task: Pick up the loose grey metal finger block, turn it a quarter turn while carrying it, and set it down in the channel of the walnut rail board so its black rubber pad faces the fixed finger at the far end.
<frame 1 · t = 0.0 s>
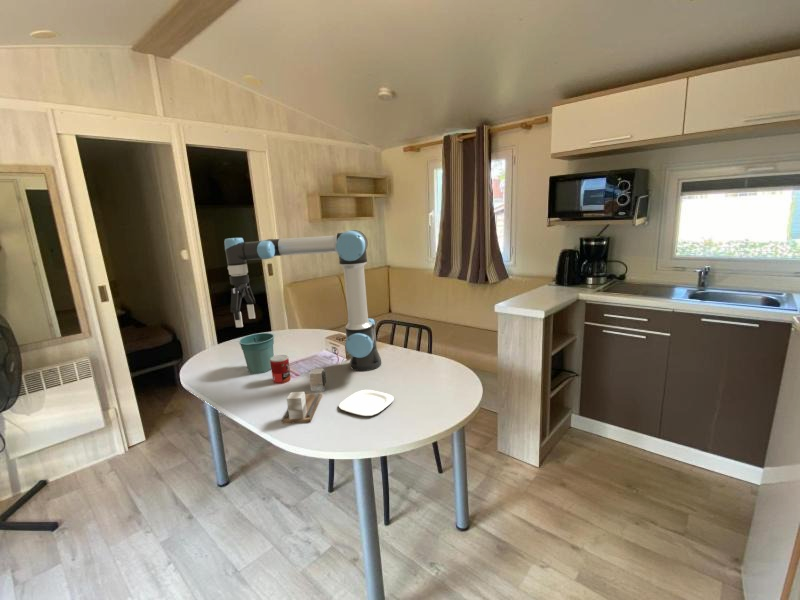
hand: (246, 322, 165), 28 cm above the table, fingers open, 13 cm apart
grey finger: (318, 388, 160), on the table
plate: (366, 405, 144), on the table
flower pot: (261, 369, 186), on the table
rail board: (303, 409, 143), on the table
canned food: (282, 380, 171), on the table
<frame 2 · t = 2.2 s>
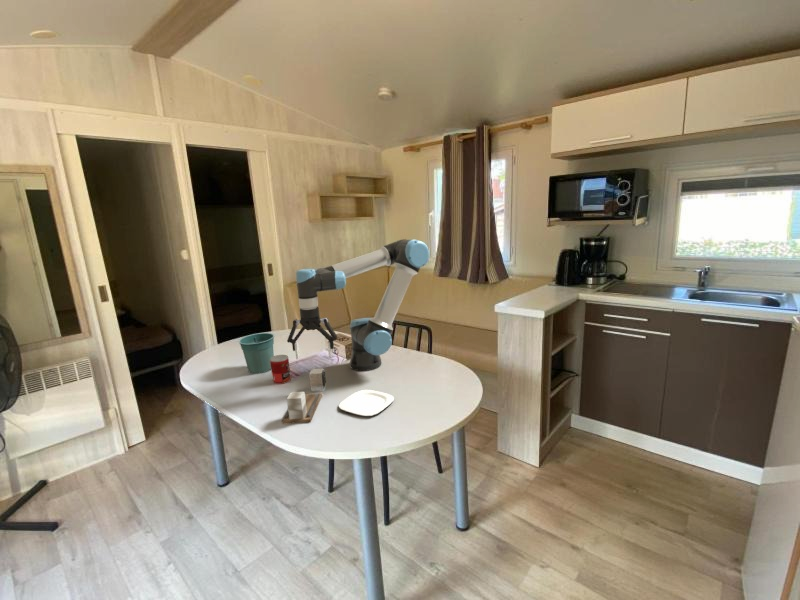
hand: (314, 357, 157), 14 cm above the table, fingers open, 13 cm apart
nothing on the table moved.
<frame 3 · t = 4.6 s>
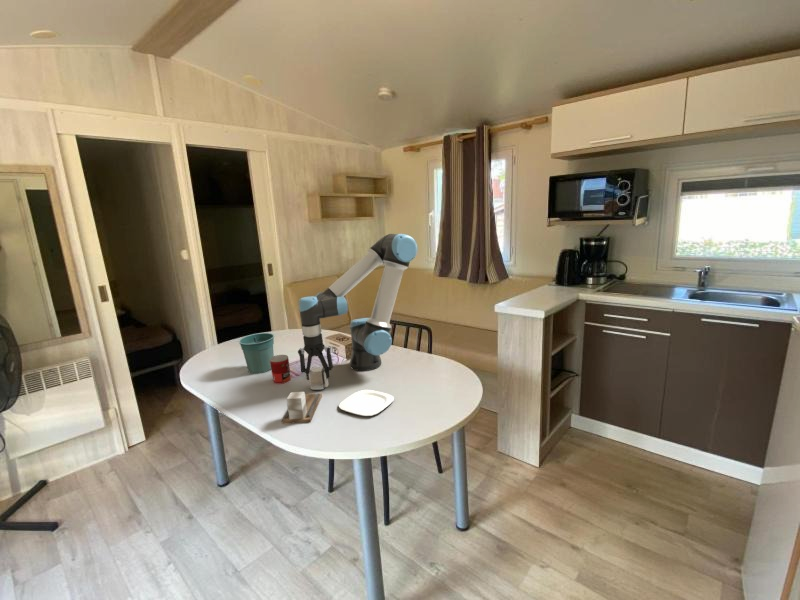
hand: (319, 386, 160), 1 cm above the table, fingers closed on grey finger, 6 cm apart
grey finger: (318, 386, 160), point 1 cm above the table, touching gripper
everything else where it was.
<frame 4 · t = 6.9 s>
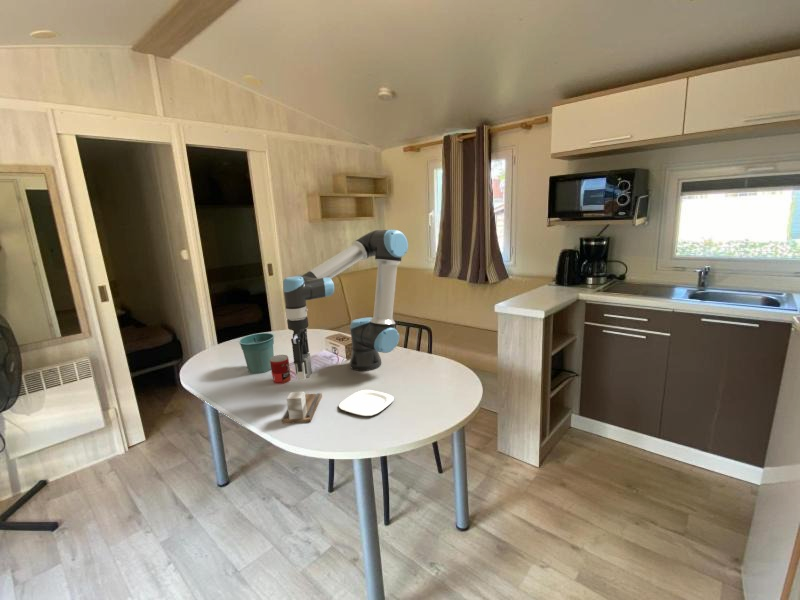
hand: (303, 375, 147), 11 cm above the table, fingers closed on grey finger, 6 cm apart
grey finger: (304, 375, 147), point 11 cm above the table, touching gripper
everything else where it was.
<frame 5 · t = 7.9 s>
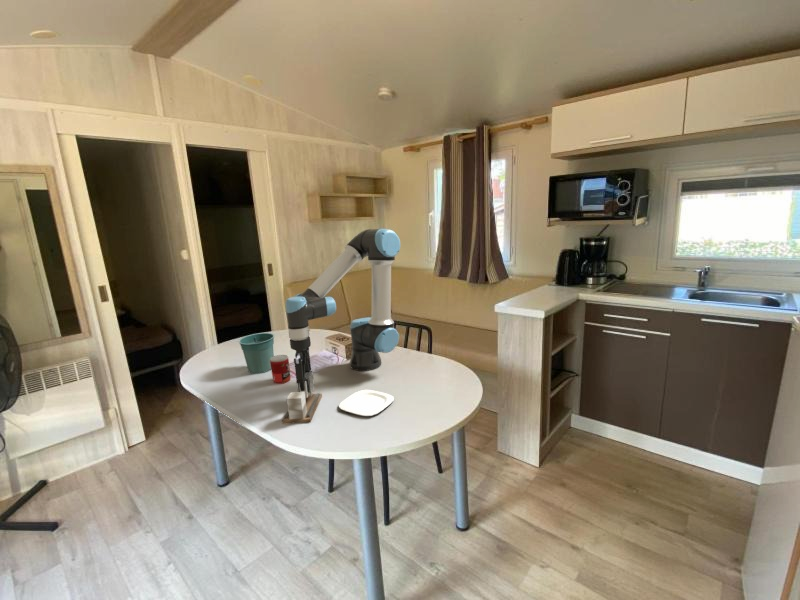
hand: (306, 393, 148), 3 cm above the table, fingers closed on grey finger, 6 cm apart
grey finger: (306, 393, 149), point 3 cm above the table, touching gripper
everything else where it was.
when the fingers open (3 cm above the table, at t = 8.8 s): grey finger drops 1 cm, resting on rail board.
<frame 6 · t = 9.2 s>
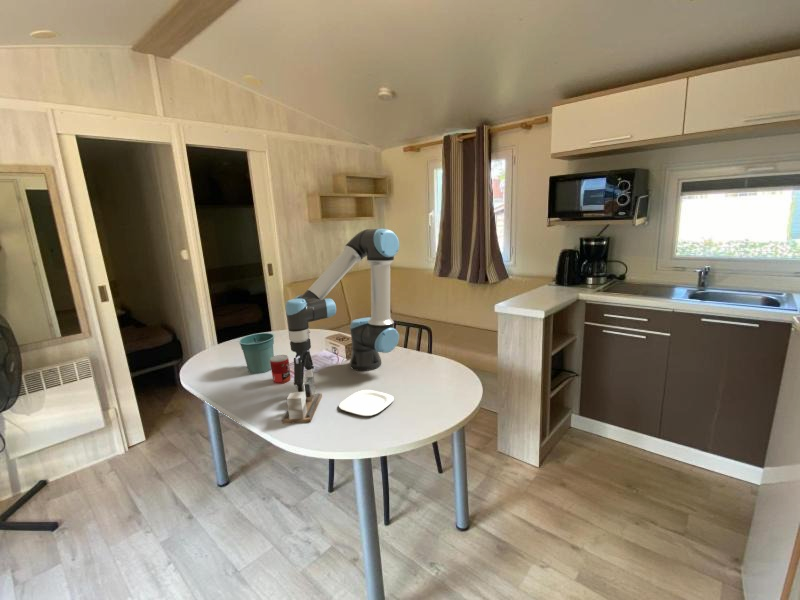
hand: (306, 391, 148), 4 cm above the table, fingers open, 12 cm apart
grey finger: (307, 398, 149), point 1 cm above the table, touching rail board
everything else where it was.
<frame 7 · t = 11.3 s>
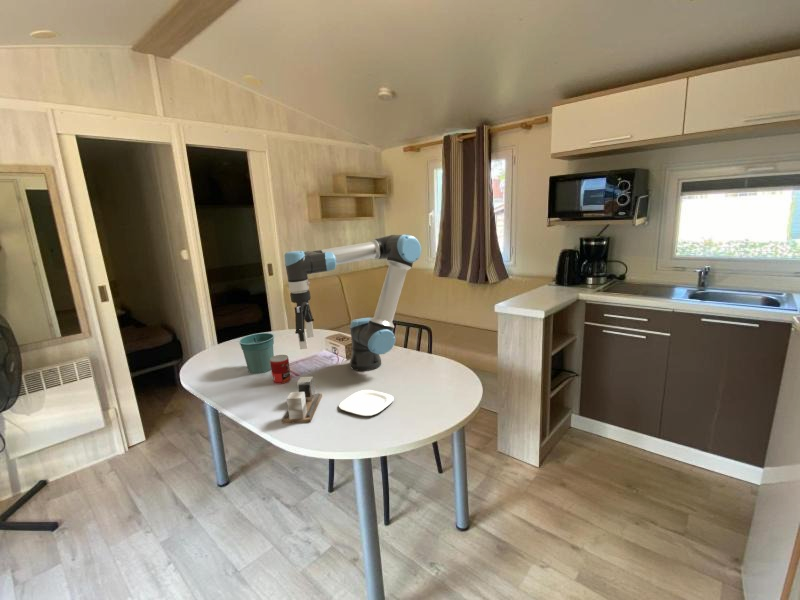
hand: (307, 342, 151), 22 cm above the table, fingers open, 13 cm apart
nothing on the table moved.
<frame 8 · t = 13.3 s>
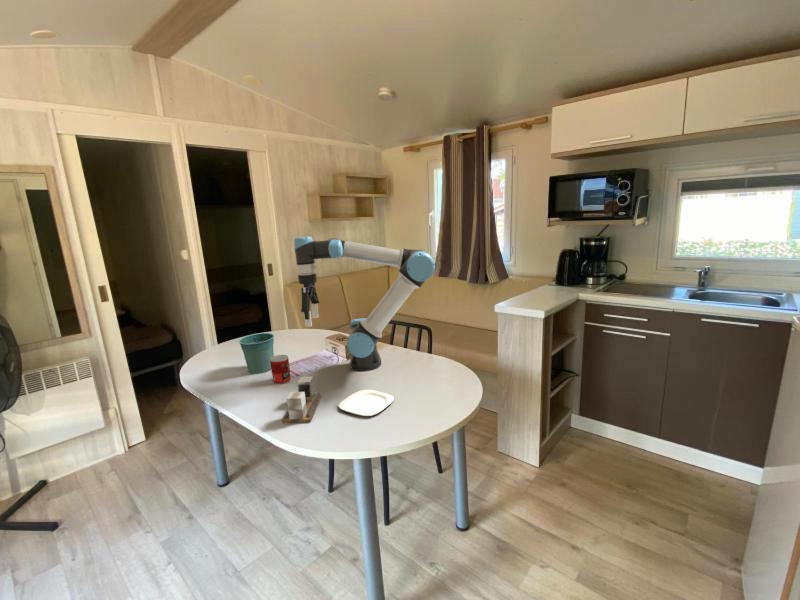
hand: (312, 322, 164), 27 cm above the table, fingers open, 13 cm apart
nothing on the table moved.
at the end: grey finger inside the target area (0.6 cm from its centre), point 1.2 cm above the table; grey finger tilted 0°; the gripper is holding nothing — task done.
